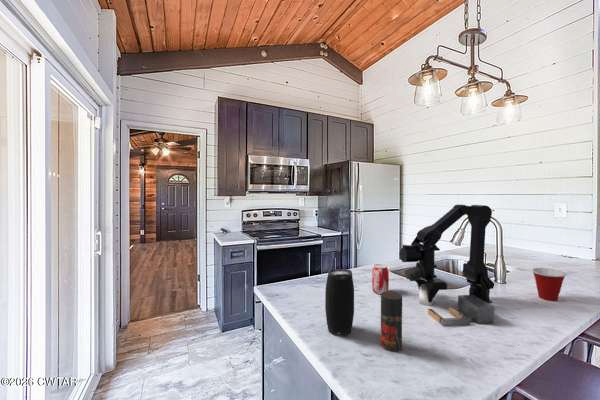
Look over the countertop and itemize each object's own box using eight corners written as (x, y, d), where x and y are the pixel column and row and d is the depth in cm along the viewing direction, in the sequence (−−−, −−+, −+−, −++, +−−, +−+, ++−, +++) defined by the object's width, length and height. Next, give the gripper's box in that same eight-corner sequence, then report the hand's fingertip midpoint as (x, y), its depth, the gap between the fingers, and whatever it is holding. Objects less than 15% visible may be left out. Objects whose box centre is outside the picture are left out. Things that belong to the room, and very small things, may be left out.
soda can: (389, 295, 116) (389, 268, 116) (372, 294, 118) (372, 267, 117) (387, 290, 123) (387, 264, 123) (371, 289, 125) (371, 263, 124)
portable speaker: (320, 328, 89) (320, 269, 88) (342, 321, 94) (342, 265, 93) (337, 340, 81) (337, 276, 81) (359, 332, 86) (359, 271, 86)
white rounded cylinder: (428, 300, 112) (428, 283, 111) (435, 305, 107) (435, 288, 106) (416, 300, 111) (417, 284, 111) (423, 306, 106) (423, 288, 106)
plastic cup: (525, 296, 116) (526, 268, 116) (538, 292, 121) (539, 265, 120) (558, 305, 106) (558, 275, 106) (570, 301, 111) (571, 272, 110)
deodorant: (377, 340, 81) (377, 291, 81) (396, 339, 82) (396, 291, 81) (385, 352, 75) (385, 299, 75) (405, 351, 76) (406, 299, 75)
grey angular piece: (468, 308, 104) (469, 292, 104) (494, 323, 92) (494, 306, 92) (422, 310, 102) (423, 294, 102) (442, 326, 90) (443, 308, 90)
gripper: (397, 256, 117) (396, 291, 117) (419, 268, 98) (419, 310, 99) (421, 255, 118) (420, 290, 118) (448, 267, 99) (447, 309, 100)
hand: (426, 299), depth 109 cm, fingers closed on white rounded cylinder, 5 cm apart
